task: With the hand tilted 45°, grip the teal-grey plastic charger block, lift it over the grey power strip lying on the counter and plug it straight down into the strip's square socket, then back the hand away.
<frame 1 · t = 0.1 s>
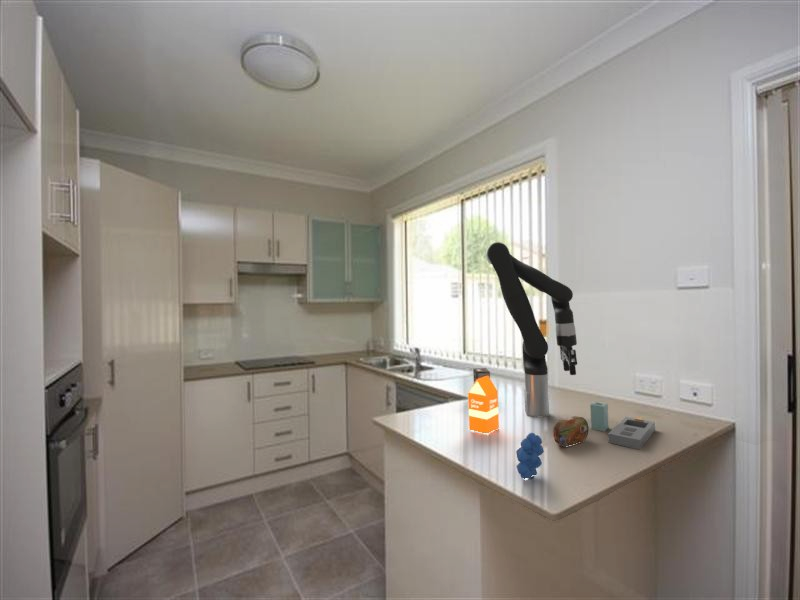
hand: (569, 372, 152), 17 cm above the worktop, tool pointing down, fingers open, 8 cm apart
coffee box: (482, 404, 172), on the worktop
orange juice: (484, 430, 137), on the worktop
tin: (571, 443, 123), on the worktop
grapes: (528, 477, 101), on the worktop
power strip: (632, 436, 127), on the worktop
charger: (599, 428, 135), on the worktop
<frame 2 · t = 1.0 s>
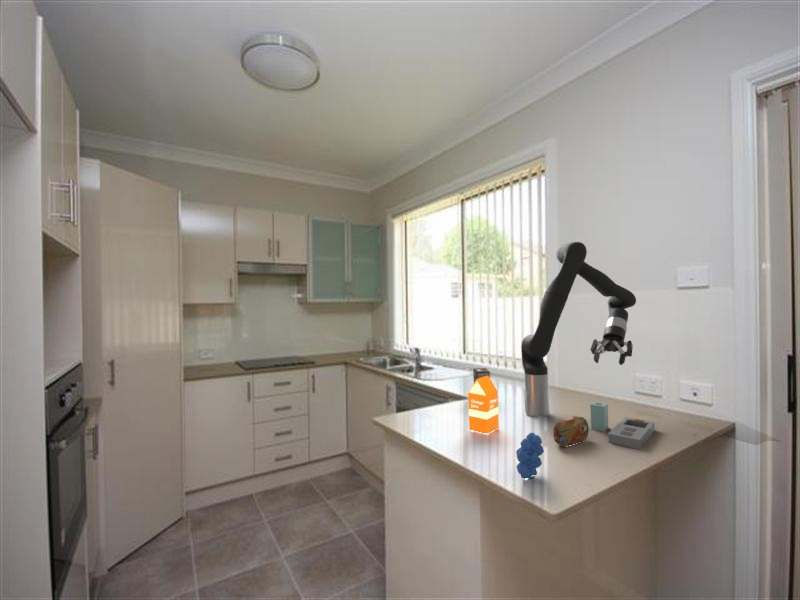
hand: (608, 362, 142), 23 cm above the worktop, tool tilted 45°, fingers open, 8 cm apart
nothing on the worktop moved.
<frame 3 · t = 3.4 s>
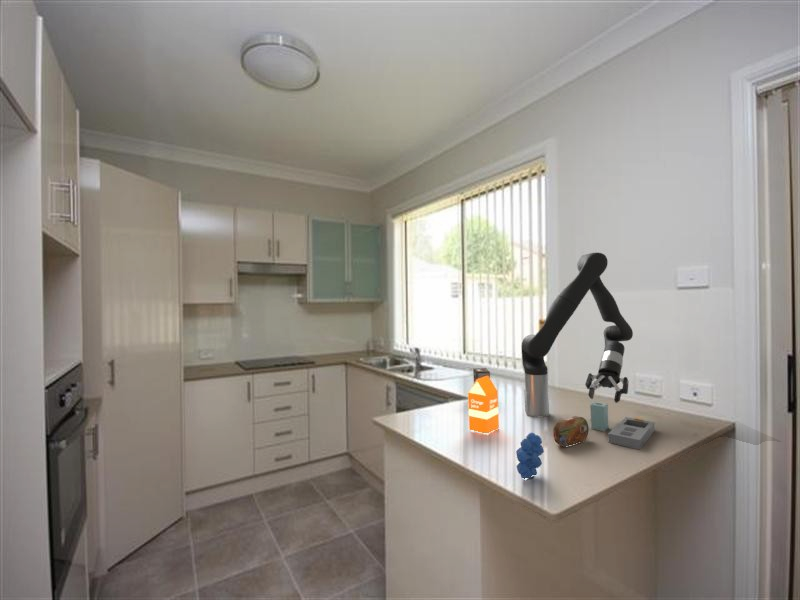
hand: (603, 399, 138), 10 cm above the worktop, tool tilted 45°, fingers open, 8 cm apart
nothing on the worktop moved.
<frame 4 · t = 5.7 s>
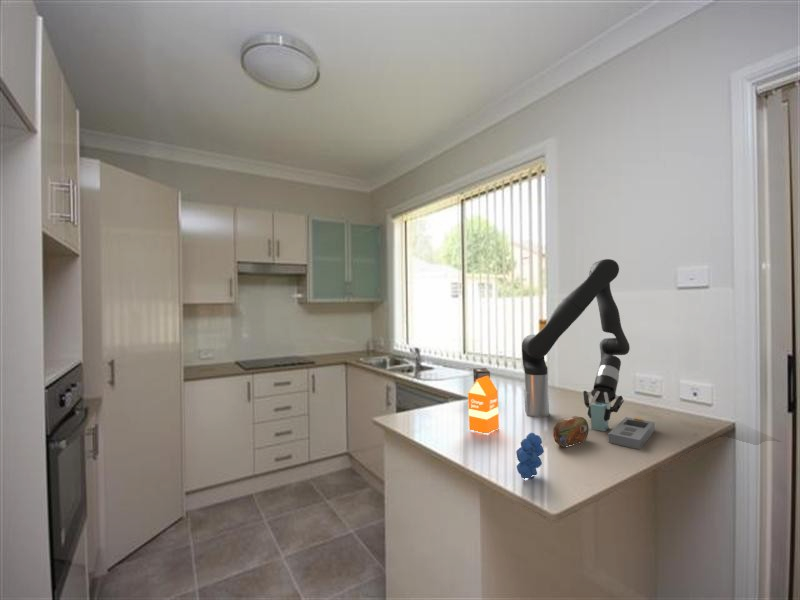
hand: (597, 418, 134), 4 cm above the worktop, tool tilted 45°, fingers closed on charger, 4 cm apart
charger: (599, 428, 135), on the worktop, touching gripper
everything else where it was.
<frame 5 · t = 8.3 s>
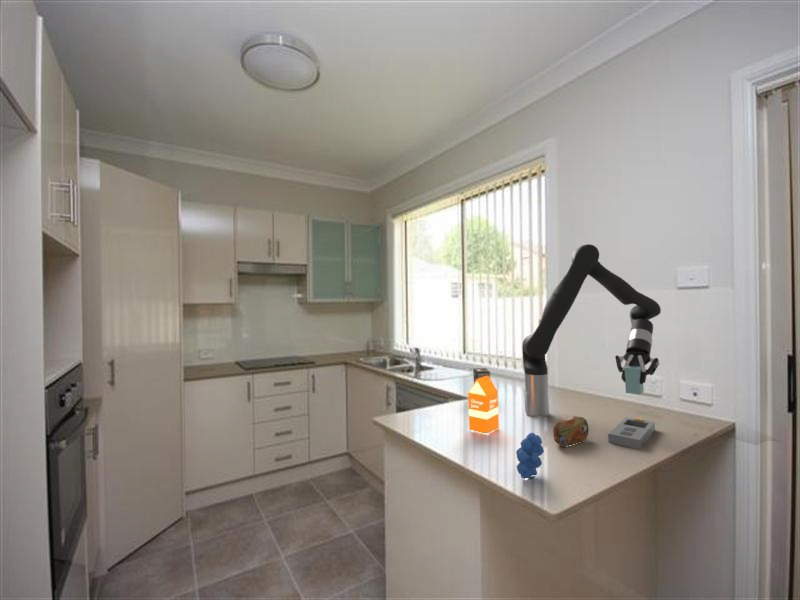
hand: (632, 381, 129), 18 cm above the worktop, tool tilted 45°, fingers closed on charger, 4 cm apart
charger: (634, 392, 130), point 14 cm above the worktop, touching gripper
everything else where it was.
when the fingers open (5 cm above the worktop, at t = 11.3 s): charger stays where it is, resting on power strip.
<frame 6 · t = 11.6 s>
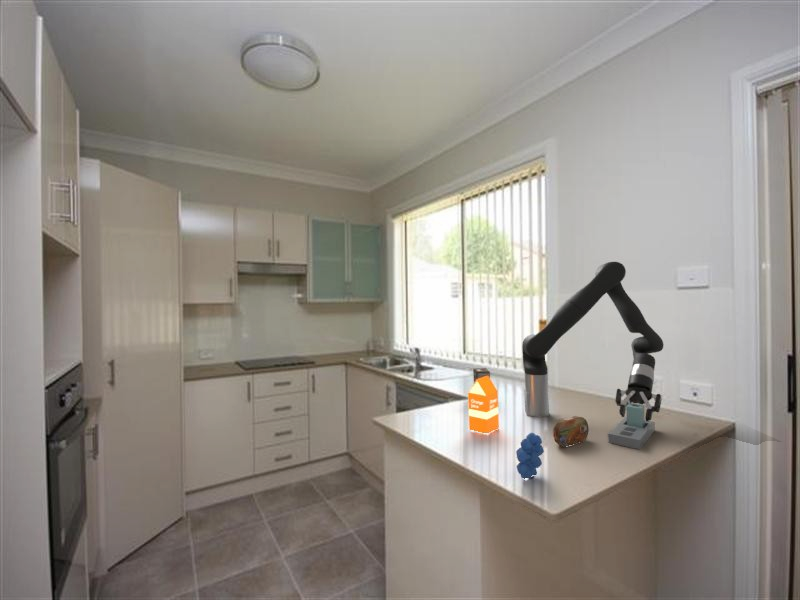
hand: (634, 417, 129), 5 cm above the worktop, tool tilted 45°, fingers open, 7 cm apart
charger: (636, 431, 130), resting on power strip
everything else where it was.
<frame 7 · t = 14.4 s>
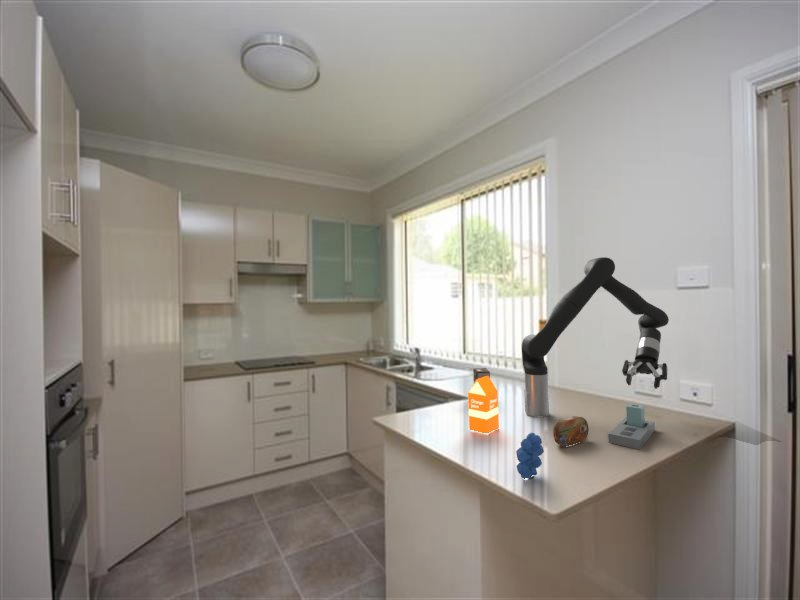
hand: (641, 385, 137), 15 cm above the worktop, tool tilted 45°, fingers open, 8 cm apart
nothing on the worktop moved.
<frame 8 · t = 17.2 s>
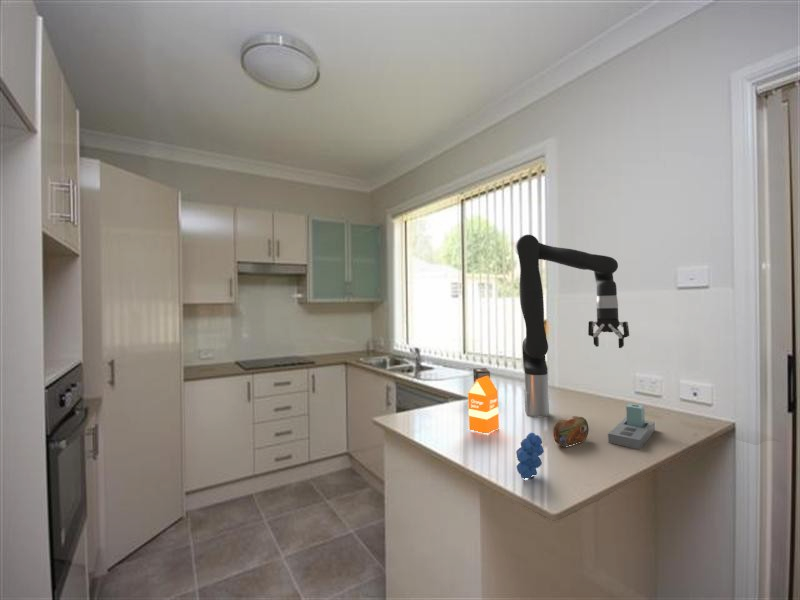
hand: (608, 347, 147), 28 cm above the worktop, tool pointing down, fingers open, 8 cm apart
nothing on the worktop moved.
at the end: charger 0.1 cm from the target spot on the power strip, point 0.3 cm above the power strip's base; charger tilted 0°; the gripper is holding nothing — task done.
